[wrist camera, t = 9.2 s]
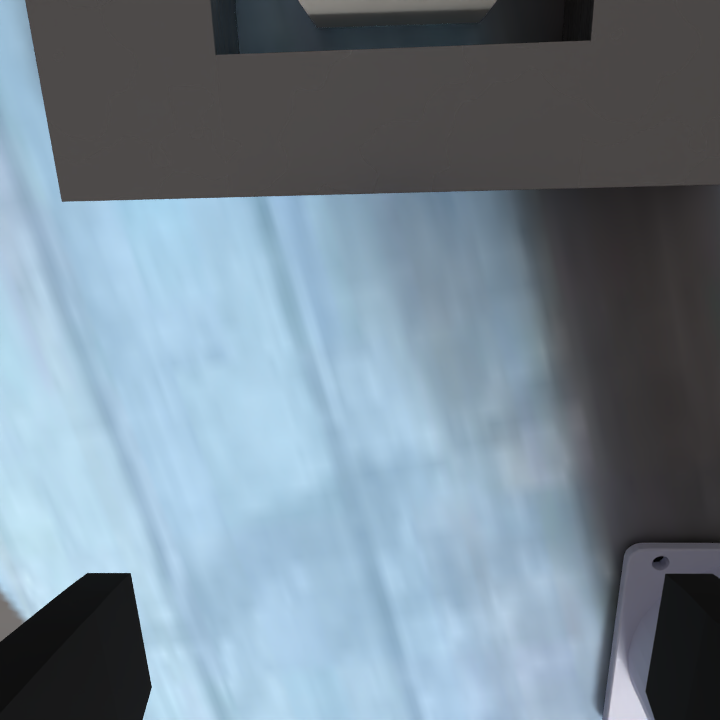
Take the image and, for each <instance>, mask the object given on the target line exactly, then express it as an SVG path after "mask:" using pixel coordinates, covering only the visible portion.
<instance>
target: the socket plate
mask: <svg viewBox="0 0 720 720" xmlns="http://www.w3.org/2000/svg"><path fill="white" fill-rule="evenodd" d="M25 1H26V7H27V12H28V18H29V23H30V29H31V34H32V40H33V45H34V51H35V56H36V62H37V67H38V73H39V78H40V84H41V89H42V95H43V100H44V106H45V111H46V117H47V122H48V128H49V133H50V139H51V144H52V150H53V155H54V161H55V166H56V172H57V177H58V183H59V188H60V194H61V199H62V202H66V201H105V200H143V199H181V198H220V197H258V196H296V195H335V194H373V193H411V192H450V191H488V190H526V189H565V188H603V187H641V186H680V185H718V184H720V0H565V11H564V26H563V40H562V42H539V43H513V44H487V45H461V46H435V47H409V48H383V49H357V50H331V51H305V52H279V53H253V54H239V43H238V31H237V19H236V7H235V0H25Z"/></svg>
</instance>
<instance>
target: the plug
mask: <svg viewBox="0 0 720 720" xmlns="http://www.w3.org/2000/svg"><path fill="white" fill-rule="evenodd" d="M298 1H299V2H300V4H301V5H302V7H303V8H304V10H305V11H306V13H307V14H308V16H309V17H310V19H311V20H312V22H313V23H314V25H315V26H316V28H345V27H376V26H407V25H439V24H470V23H480V22H481V21H482V19H483V18H484V17H485V16H486V14H487V13H488V12H489V10H490V9H491V8H492V6H493V5H494V4H495V2H496V1H497V0H298Z"/></svg>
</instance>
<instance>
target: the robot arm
mask: <svg viewBox="0 0 720 720" xmlns="http://www.w3.org/2000/svg"><path fill="white" fill-rule="evenodd" d="M659 556H664V557H663V559H662V560H660V561H658V562H653V560H654V559H655V558H656V557H659ZM151 688H152V686H151V681H150V675H149V670H148V665H147V659H146V654H145V648H144V643H143V637H142V632H141V627H140V621H139V616H138V610H137V605H136V600H135V594H134V589H133V583H132V578H131V573H87V574H86V575H84V576H83V577H82V578H80V579H79V580H77V581H76V582H75V583H73V584H72V585H71V586H69V587H68V588H67V589H66V590H64V591H63V592H62V593H61V594H59V595H58V596H57V597H55V598H54V599H53V600H52V601H50V602H49V603H48V604H47V605H45V606H44V607H43V608H42V609H41V610H39V611H38V612H37V613H36V614H34V615H33V616H32V617H31V618H29V619H28V620H27V621H26V622H24V623H23V624H22V625H21V626H19V627H18V628H17V629H16V630H15V631H13V632H12V633H11V634H10V635H8V636H7V637H6V638H5V639H3V640H2V641H1V642H0V720H143V716H144V712H145V709H146V705H147V702H148V698H149V695H150V691H151ZM602 720H720V543H637V544H634V545H632V546H630V547H629V548H628V549H627V550H626V552H625V554H624V559H623V567H622V574H621V582H620V590H619V597H618V605H617V612H616V620H615V627H614V635H613V642H612V650H611V658H610V665H609V673H608V680H607V688H606V695H605V703H604V710H603V718H602Z"/></svg>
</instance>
